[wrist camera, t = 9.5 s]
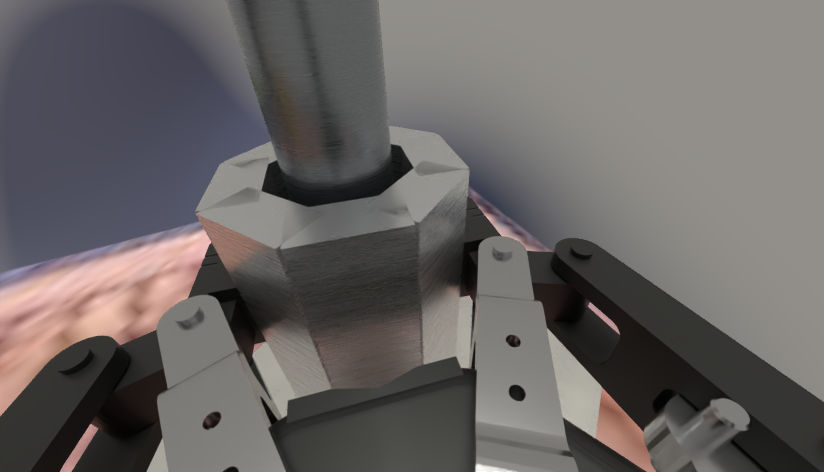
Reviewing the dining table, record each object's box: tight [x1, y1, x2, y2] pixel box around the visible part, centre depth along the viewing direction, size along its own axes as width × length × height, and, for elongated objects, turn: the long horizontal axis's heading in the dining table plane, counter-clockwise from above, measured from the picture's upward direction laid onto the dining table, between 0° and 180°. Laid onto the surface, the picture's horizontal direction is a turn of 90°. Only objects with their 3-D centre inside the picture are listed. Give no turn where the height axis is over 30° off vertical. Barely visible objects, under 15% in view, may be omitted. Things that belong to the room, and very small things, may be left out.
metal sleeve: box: [195, 126, 469, 398], centre depth 10 cm, size 6×6×8 cm
